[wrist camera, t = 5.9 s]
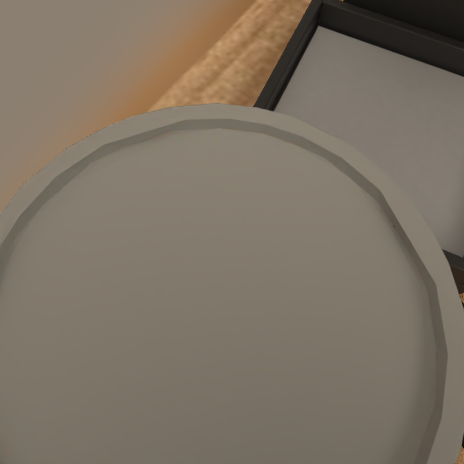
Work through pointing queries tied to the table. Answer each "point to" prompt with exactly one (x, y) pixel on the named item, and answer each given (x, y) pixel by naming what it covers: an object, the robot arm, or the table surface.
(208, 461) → the disposable coffee cup
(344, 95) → the coffee machine
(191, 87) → the table surface
